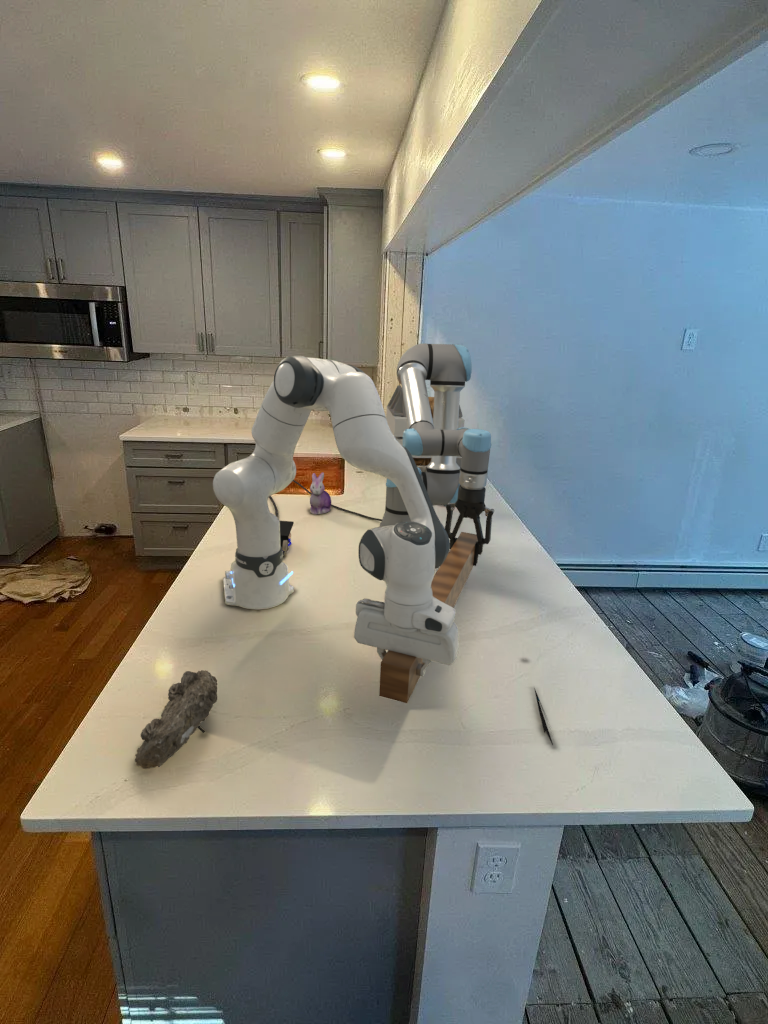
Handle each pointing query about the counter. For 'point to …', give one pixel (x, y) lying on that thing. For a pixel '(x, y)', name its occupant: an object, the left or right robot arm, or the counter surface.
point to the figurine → (319, 496)
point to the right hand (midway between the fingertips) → (464, 561)
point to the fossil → (178, 718)
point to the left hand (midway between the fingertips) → (403, 670)
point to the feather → (542, 717)
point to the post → (446, 588)
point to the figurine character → (285, 534)
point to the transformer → (399, 424)
